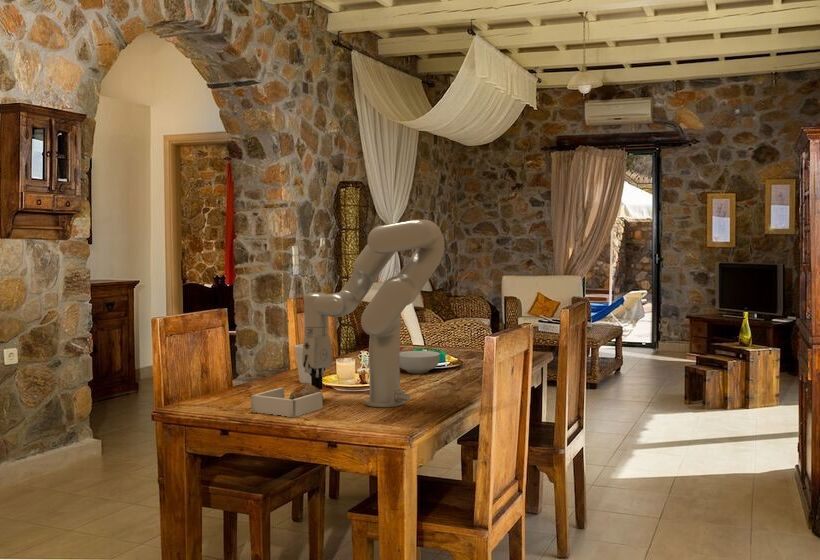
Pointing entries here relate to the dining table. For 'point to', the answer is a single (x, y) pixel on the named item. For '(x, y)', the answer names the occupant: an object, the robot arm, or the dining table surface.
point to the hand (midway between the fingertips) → (317, 389)
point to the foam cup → (301, 365)
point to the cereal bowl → (419, 361)
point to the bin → (285, 403)
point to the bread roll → (304, 391)
